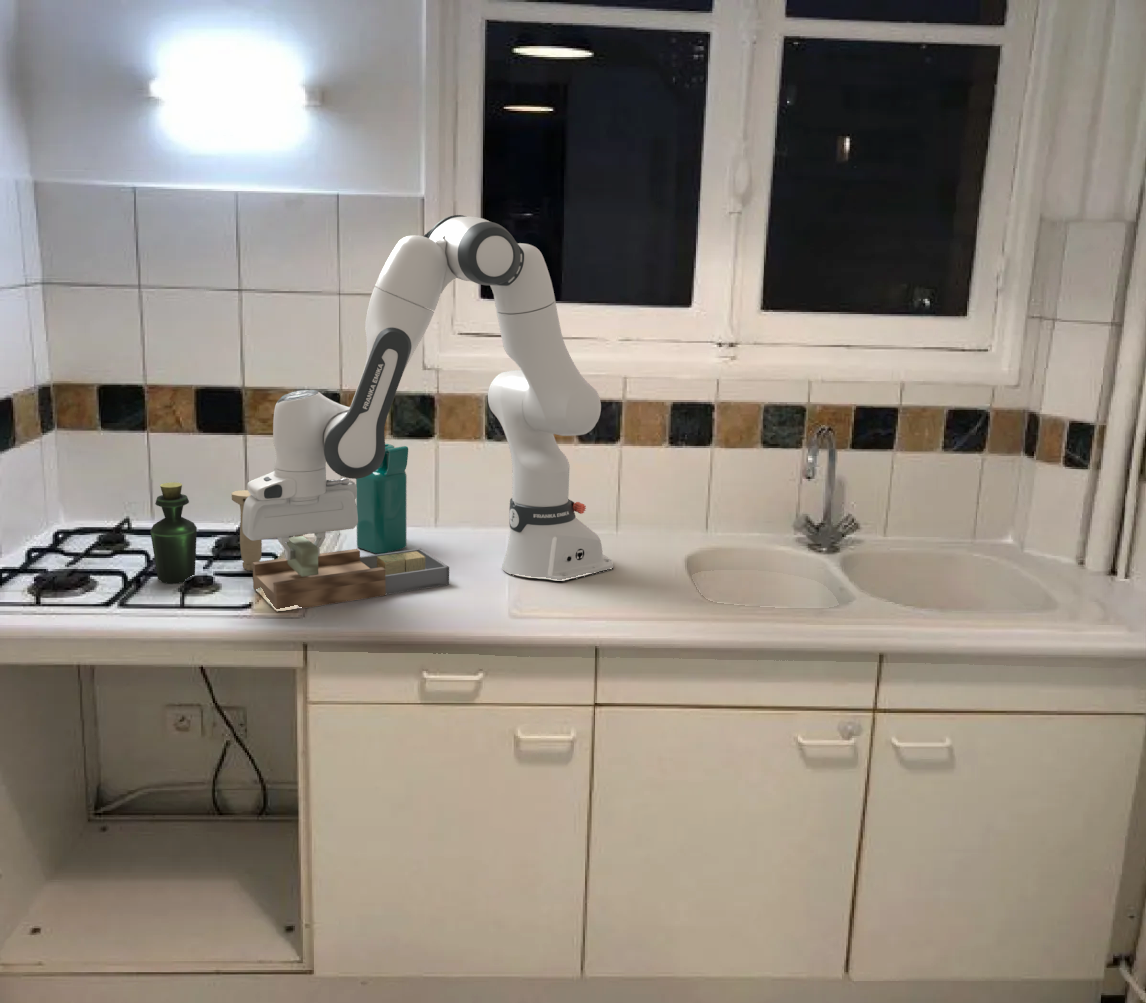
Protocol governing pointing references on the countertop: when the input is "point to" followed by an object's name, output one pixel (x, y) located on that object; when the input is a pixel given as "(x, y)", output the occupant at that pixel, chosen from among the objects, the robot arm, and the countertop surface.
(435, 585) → the tray
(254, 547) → the handle
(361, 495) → the pitcher
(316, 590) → the slot board
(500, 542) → the countertop surface
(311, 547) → the bar
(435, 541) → the countertop surface
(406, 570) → the brass block
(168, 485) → the potion bottle
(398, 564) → the brass block
